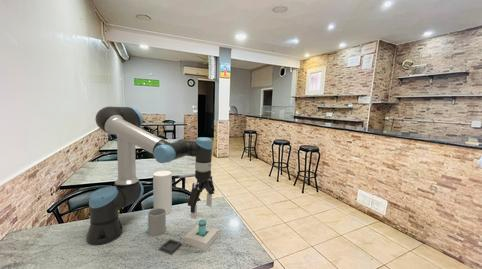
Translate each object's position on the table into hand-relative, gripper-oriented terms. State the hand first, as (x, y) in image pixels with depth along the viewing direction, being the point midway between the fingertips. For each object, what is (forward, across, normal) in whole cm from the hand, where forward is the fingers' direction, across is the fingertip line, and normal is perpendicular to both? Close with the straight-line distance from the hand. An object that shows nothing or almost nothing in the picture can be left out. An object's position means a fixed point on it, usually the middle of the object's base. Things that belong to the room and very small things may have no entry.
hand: (201, 211), depth 99 cm
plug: (+15, 0, -1) cm, 15 cm away
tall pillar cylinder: (+16, +14, +37) cm, 43 cm away
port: (+15, 0, -1) cm, 15 cm away
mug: (+16, -2, +25) cm, 30 cm away
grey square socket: (+15, -11, +9) cm, 21 cm away
